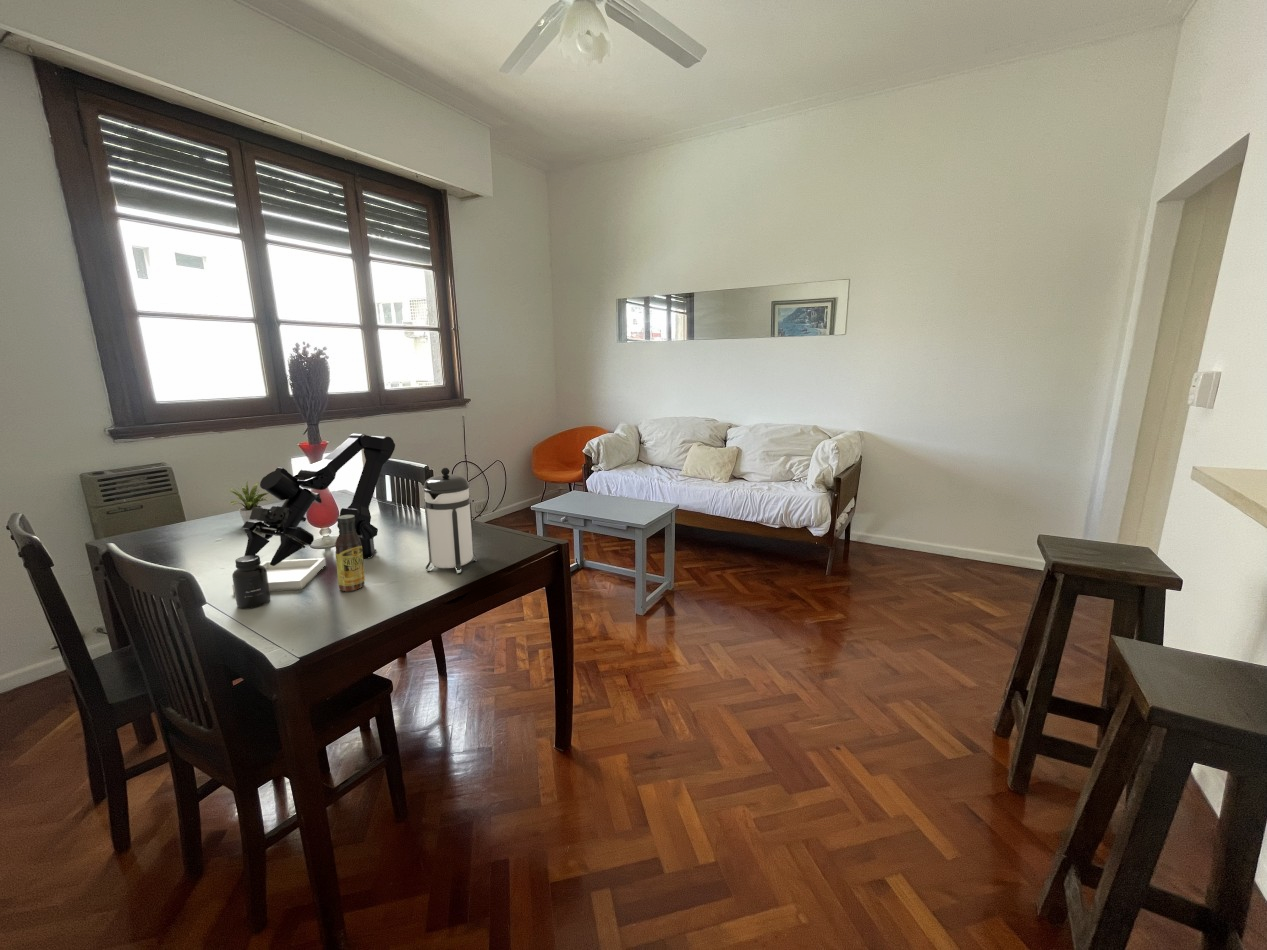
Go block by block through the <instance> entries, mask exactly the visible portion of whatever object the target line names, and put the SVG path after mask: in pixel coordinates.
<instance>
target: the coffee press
mask: <svg viewBox="0 0 1267 950" xmlns="http://www.w3.org/2000/svg"><path fill="white" fill-rule="evenodd" d="M440 472H441V474H440V475H439V474H438V475H435V476H434V475H433V476H432V477H429V478H428V479H426V480H425V482H424V483H423V484H424V485H423V486H422V487H421V488H422V491H423V493H424V499H423V502H424V503H423V504H424V513H425V514H424V515H425V524H426V525H425V526H426V536H427V548H428V559H429V560H428V563H427V565H426V566H425V570H426V569H427V570H429V567H430V565H432V566H434V567H435V568H440V569H455V567H456V568H457V570H460V569H462V566H466V565H467V564H468V563H470V562H471V561H472V560H473V557H475V558H476V557H477V556H476V555H475V554H474V553H475V552H474V541H473V540H474V539H473V515H472V503H471V495H470V490H469V489H470V487H471V485H470V483H469V481H468V480H467V478H465V476H462V475H459V474H450V472H451V471H450V469H449V467H443V468H441V471H440ZM462 570H463V569H462Z"/></svg>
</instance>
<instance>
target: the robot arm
mask: <svg viewBox="0 0 1267 950" xmlns="http://www.w3.org/2000/svg"><path fill="white" fill-rule="evenodd" d="M395 449H396V443H395V442H394V439H393V438H392V437H391V436H384V435H367V434H364V433H352V434H349V435H348V438H347V439H346V440H344V441H343V442H342V443H340V444H339V446H337V447H336V448H335V449H334V450H333V451H331V452H330V453H329V454H327V456H325V457H324V458H323V459H322V460H319V461H316V462H313V463H311V464H308V465H307V466H305V467H303V468H301V470H299V472H298V473H296V474H293V475H292V474H291V473H290V472H288V470H287V469H286V468H284V467H276V468H275V470H274V471H271V472H269V473H267V474H266V475H264V476H263V477H262V478H261V481H260V483H259V488H260V489H261V488H262V489H261V490H264V491H265V492H266V493H269V494H270V495H271V496H272V497H274V498H276V499H277V500H279V501H284V502H283V503H282V505H281V506H278V505H277V506H274V505H272V506H271V507H270V509H269V508H264V507H263V508H257V507H253V508H252V512H251V515H250V518H249V519H251V520H249V521H246V522H245V524H244V523H243V525H242V527H241V529H242V530H244V531H243V533H245V534H246V536H247V544H246V549H245V552H244V555H243V556H248V555H258V553H259V552H260V551H261V550H263V548H264V547H266V545H267V544H268V543H270V540H269V539H271V538H273V536H275V537H279V538H280V540H279V541H280V544H279V546H278V548H277V550H276V551H275V553H274V555H273V557H272V559H271V560H270V561H271V563H270V565H272V566H275V565H277V564H278V563H280V562H281V561H283V560H287V558H288V557H290V556H292V555H293V554H295V553H296V552H298V551H300V550H302V549H305V548H306V547H311V546H312V544H313V542H314V541H315V537H314V536H315V535H314V534H313V533H311V532H309V531H307V530H306V529H305V528H303V527H301V526H299V524H300V523H301V522H304V523H305V522H306V520H307V518H306V517H305V515H306V514H307V512H308V511H309V509H310V508H311V507H312V504H313V503H316V504H322V498H321V496H320V493H318V492H313V491H312V490H317V491H323V490H326V489H328V488H329V486H331V484H332V483H333V482H334V480H335V479H336V475H337V473H338V471H339V470H340V469H341V468H342V467H344V466H345V465H346V464H347V463H348V462H349V461H351V459H353V458H354V457H355V456H356V455H357V454H358V453H359V452H361V451H363V454H364V458H365V463H364V465H363V468H362V471H361V475H360V478H359V480H358V483H357V485H356V488H355V492H354V494H353V497H352V500H351V503H350V505H349V506H348V507H342V508H341V509H340V511H339V515H338V517H339V516H342V515H354V516H355V529H356V533H357V535H358V536H359V538H360V541H361V545H362V553H363V559H371V558H372V557H373V556H374V555H375V554H376V553H377V549H376V548H375V543H374V542H375V541H374V540H375V539H374V537H377V536H378V532H379V531H378V530H379V529H378V528H377V527H376V526H375V525H373V524H372V523H371V519H372V516H371V512H370V506H371V502H372V500H373V497H374V493H375V489H376V488H377V484H378V480H379V477H380V474H381V472H382V468H383V465H385V463H387V462H388V461H389V459H391V457H392V456H393V454H394V451H395ZM254 519H257V520H258V521H255V520H254ZM261 521H262V522H261ZM337 528H338V529H339V524H338V523H337Z"/></svg>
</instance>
